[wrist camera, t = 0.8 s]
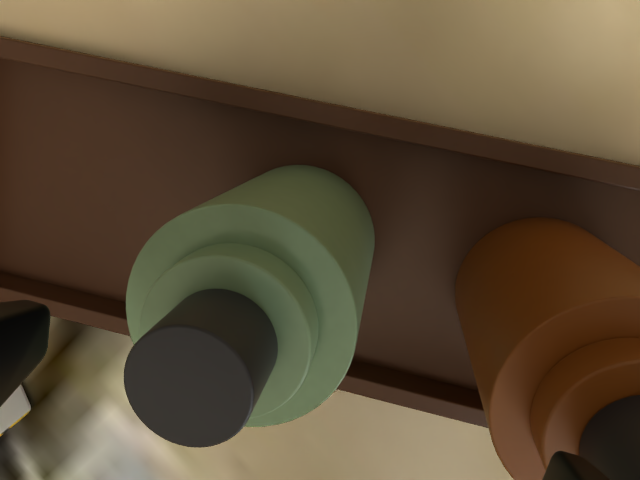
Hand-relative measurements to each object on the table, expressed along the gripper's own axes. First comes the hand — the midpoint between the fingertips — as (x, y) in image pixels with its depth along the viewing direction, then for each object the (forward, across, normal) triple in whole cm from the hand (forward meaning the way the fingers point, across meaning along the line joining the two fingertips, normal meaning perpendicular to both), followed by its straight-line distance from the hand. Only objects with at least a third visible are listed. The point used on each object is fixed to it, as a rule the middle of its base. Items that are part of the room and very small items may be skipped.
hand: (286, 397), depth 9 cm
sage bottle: (+14, +2, +1) cm, 14 cm away
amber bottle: (+14, -8, +1) cm, 16 cm away
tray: (+14, +2, +1) cm, 14 cm away
